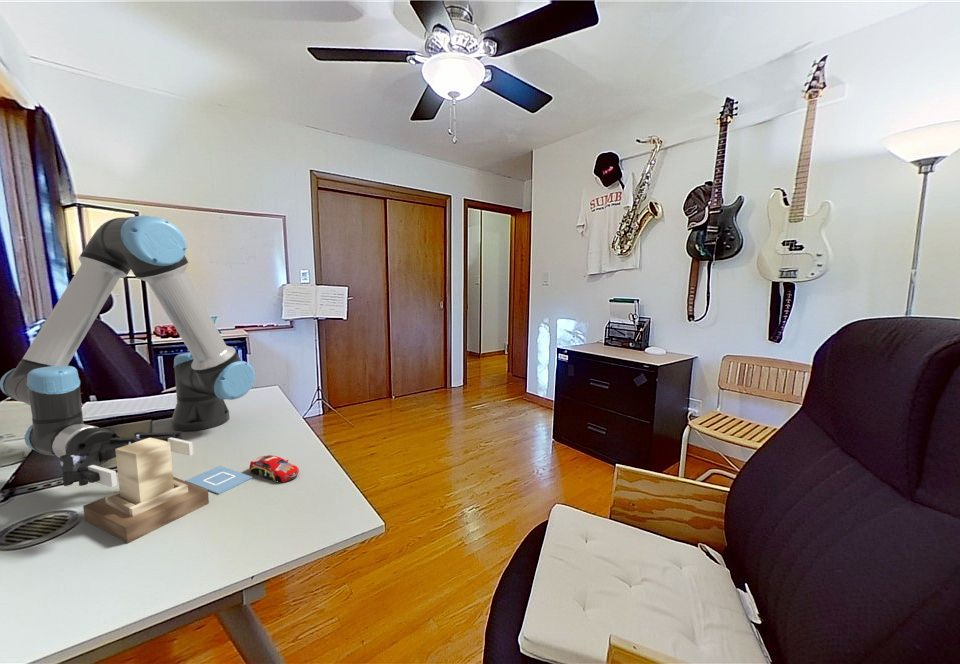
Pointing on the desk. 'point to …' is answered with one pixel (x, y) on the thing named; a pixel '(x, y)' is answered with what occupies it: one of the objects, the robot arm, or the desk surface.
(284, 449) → the desk surface
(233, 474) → the blueprint card
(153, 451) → the pillar
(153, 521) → the base plate
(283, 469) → the race car
